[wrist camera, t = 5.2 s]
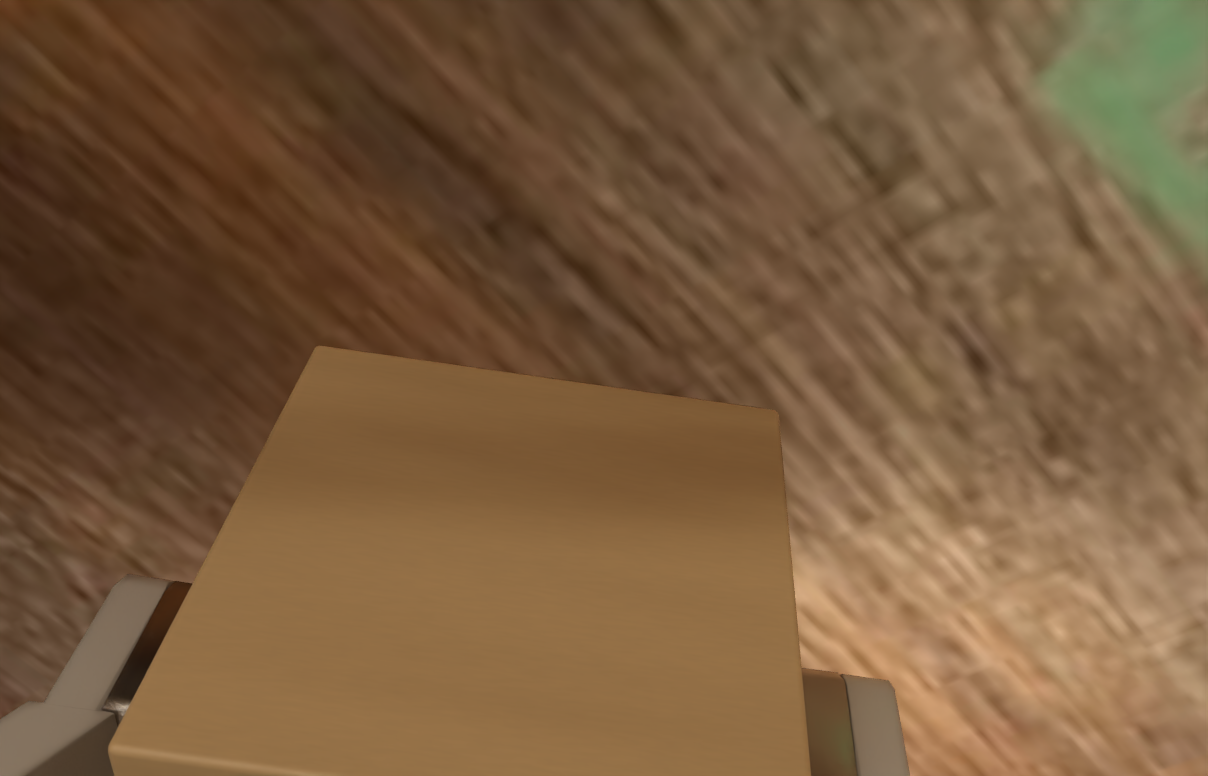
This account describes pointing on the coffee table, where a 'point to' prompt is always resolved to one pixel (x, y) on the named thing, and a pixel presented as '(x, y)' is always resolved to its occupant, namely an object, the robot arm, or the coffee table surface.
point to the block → (487, 589)
